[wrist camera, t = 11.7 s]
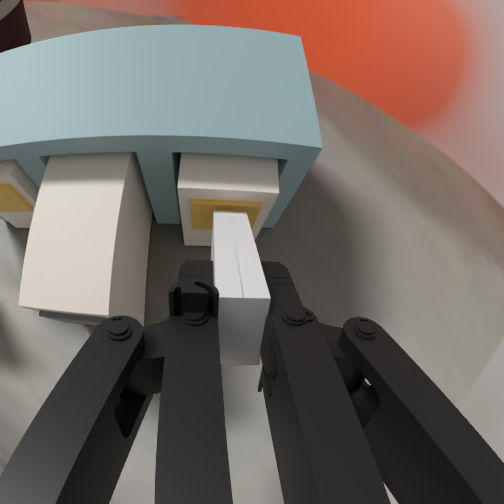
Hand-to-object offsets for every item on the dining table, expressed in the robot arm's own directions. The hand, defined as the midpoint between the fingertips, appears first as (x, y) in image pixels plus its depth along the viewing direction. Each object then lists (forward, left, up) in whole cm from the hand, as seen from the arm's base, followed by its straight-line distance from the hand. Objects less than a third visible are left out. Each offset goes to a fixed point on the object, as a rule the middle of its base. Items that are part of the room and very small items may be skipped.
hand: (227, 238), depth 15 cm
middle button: (-7, +1, -6) cm, 9 cm away
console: (-7, +8, -6) cm, 12 cm away
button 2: (0, +6, -6) cm, 9 cm away
